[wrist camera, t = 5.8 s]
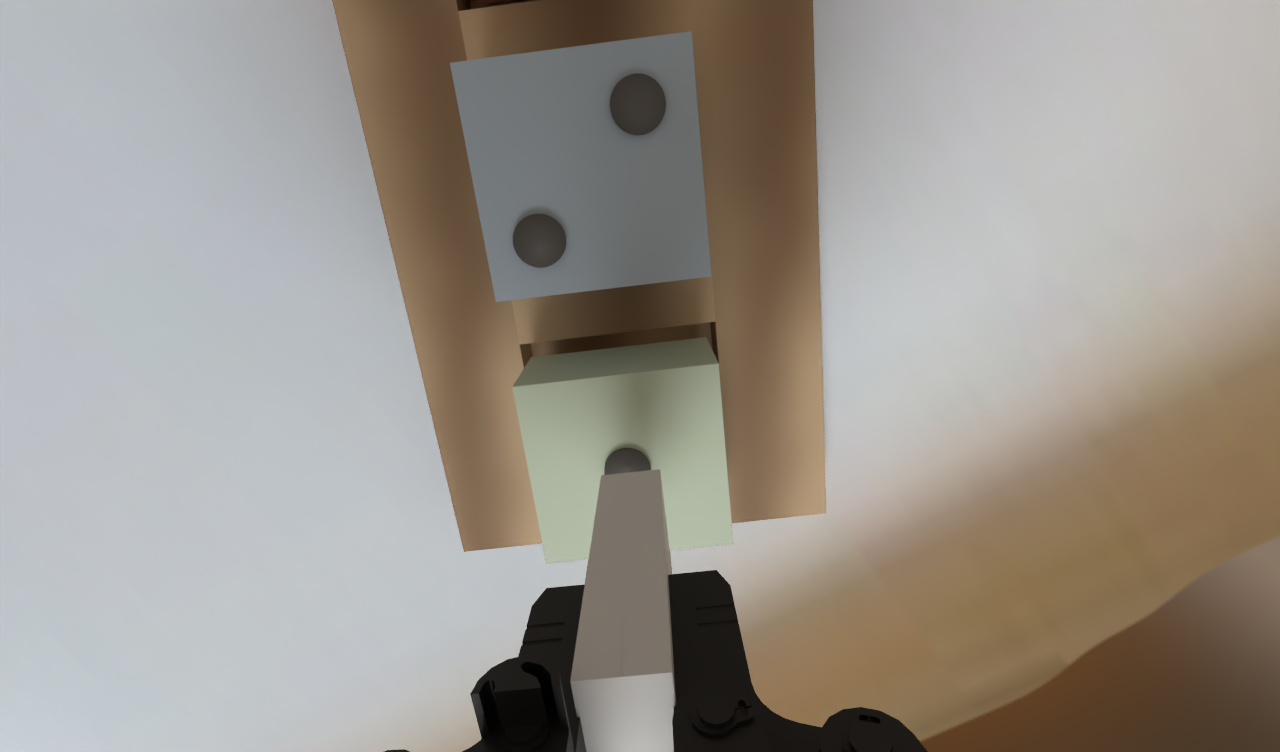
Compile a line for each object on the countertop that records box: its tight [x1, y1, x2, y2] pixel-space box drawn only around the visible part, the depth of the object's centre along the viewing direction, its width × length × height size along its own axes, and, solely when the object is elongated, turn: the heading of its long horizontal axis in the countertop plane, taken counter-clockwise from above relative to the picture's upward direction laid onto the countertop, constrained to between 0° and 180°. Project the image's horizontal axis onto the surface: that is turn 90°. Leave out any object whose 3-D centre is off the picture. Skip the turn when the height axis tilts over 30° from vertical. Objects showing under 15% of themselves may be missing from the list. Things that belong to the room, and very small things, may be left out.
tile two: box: [450, 31, 712, 302], centre depth 17 cm, size 6×6×3 cm
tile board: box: [332, 0, 826, 552], centre depth 20 cm, size 14×26×2 cm, turn 7°
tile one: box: [512, 337, 733, 564], centre depth 19 cm, size 6×6×3 cm
